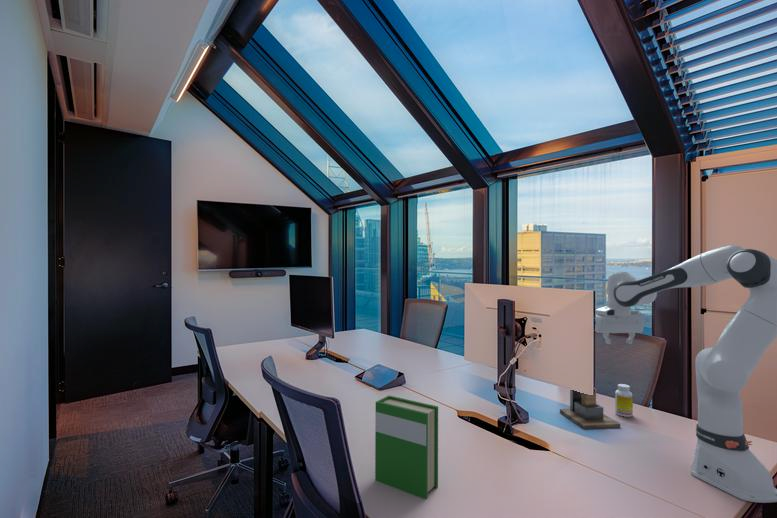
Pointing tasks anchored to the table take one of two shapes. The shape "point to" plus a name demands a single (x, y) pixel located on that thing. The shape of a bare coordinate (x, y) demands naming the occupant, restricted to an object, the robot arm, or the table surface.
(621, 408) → the supplement bottle
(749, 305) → the robot arm
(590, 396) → the oak rail end
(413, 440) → the hardback book
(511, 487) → the table surface
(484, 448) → the table surface
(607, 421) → the walnut base board
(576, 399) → the grey open holder
